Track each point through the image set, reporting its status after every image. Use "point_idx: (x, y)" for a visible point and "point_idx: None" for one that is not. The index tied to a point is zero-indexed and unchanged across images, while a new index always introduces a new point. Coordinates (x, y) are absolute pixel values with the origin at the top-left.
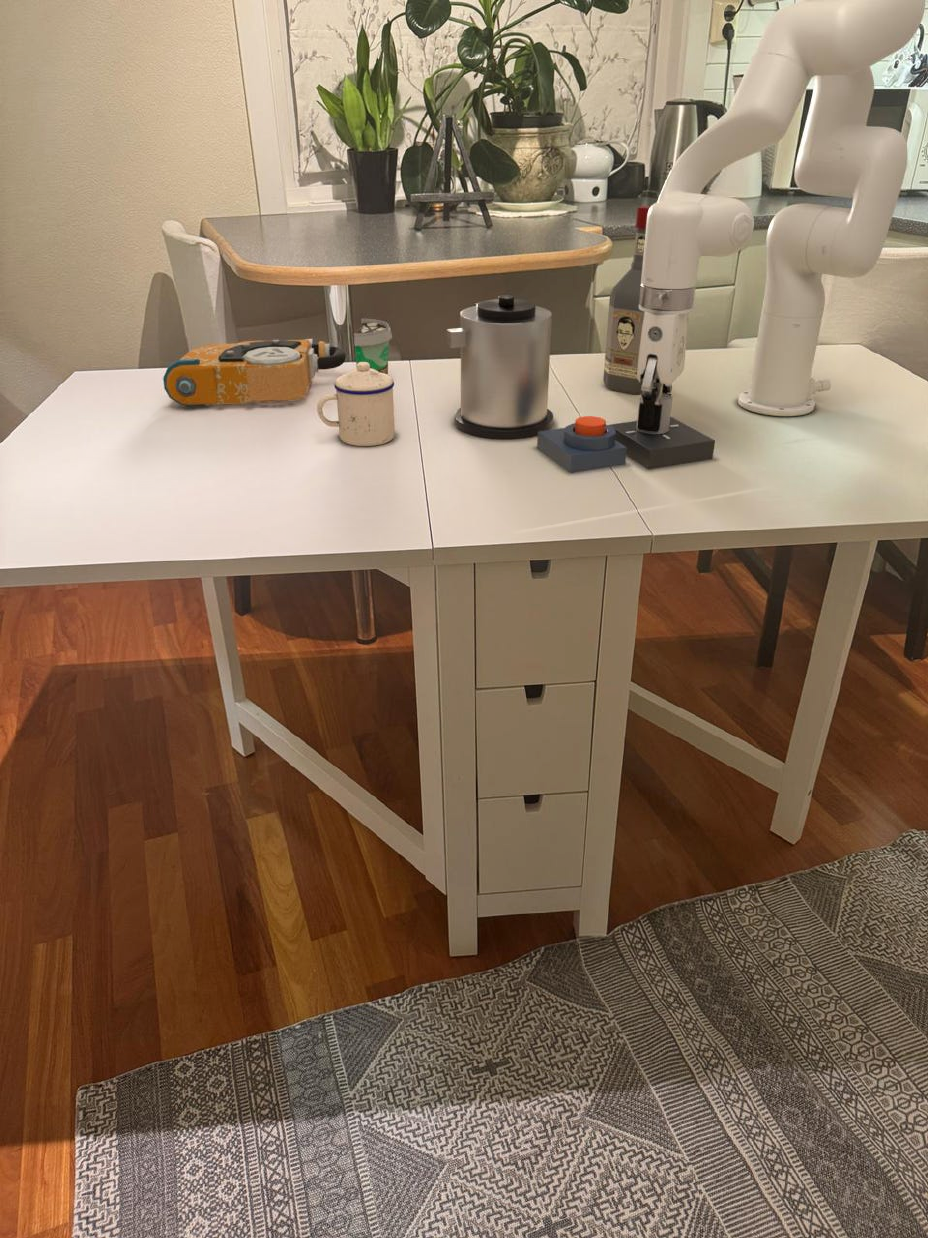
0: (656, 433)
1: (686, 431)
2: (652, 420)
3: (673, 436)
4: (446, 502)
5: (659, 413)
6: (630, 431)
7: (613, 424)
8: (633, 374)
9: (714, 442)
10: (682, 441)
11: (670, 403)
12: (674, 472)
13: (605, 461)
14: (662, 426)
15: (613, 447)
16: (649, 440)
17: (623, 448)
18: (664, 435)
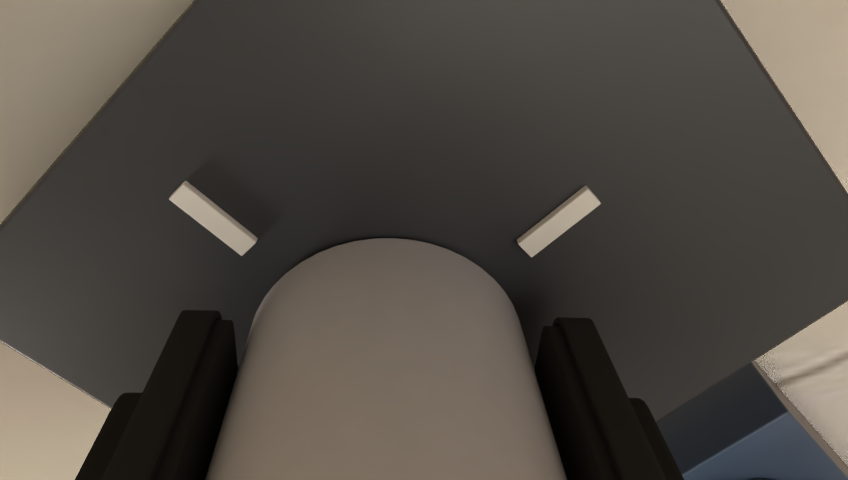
0: (515, 310)
1: (309, 78)
2: (657, 437)
3: (510, 168)
4: None
5: (643, 449)
6: None
7: None
8: None
9: None
10: (631, 61)
11: (440, 449)
12: (827, 16)
13: (816, 434)
14: (501, 312)
15: (799, 472)
16: (662, 320)
17: (798, 422)
18: (531, 243)
